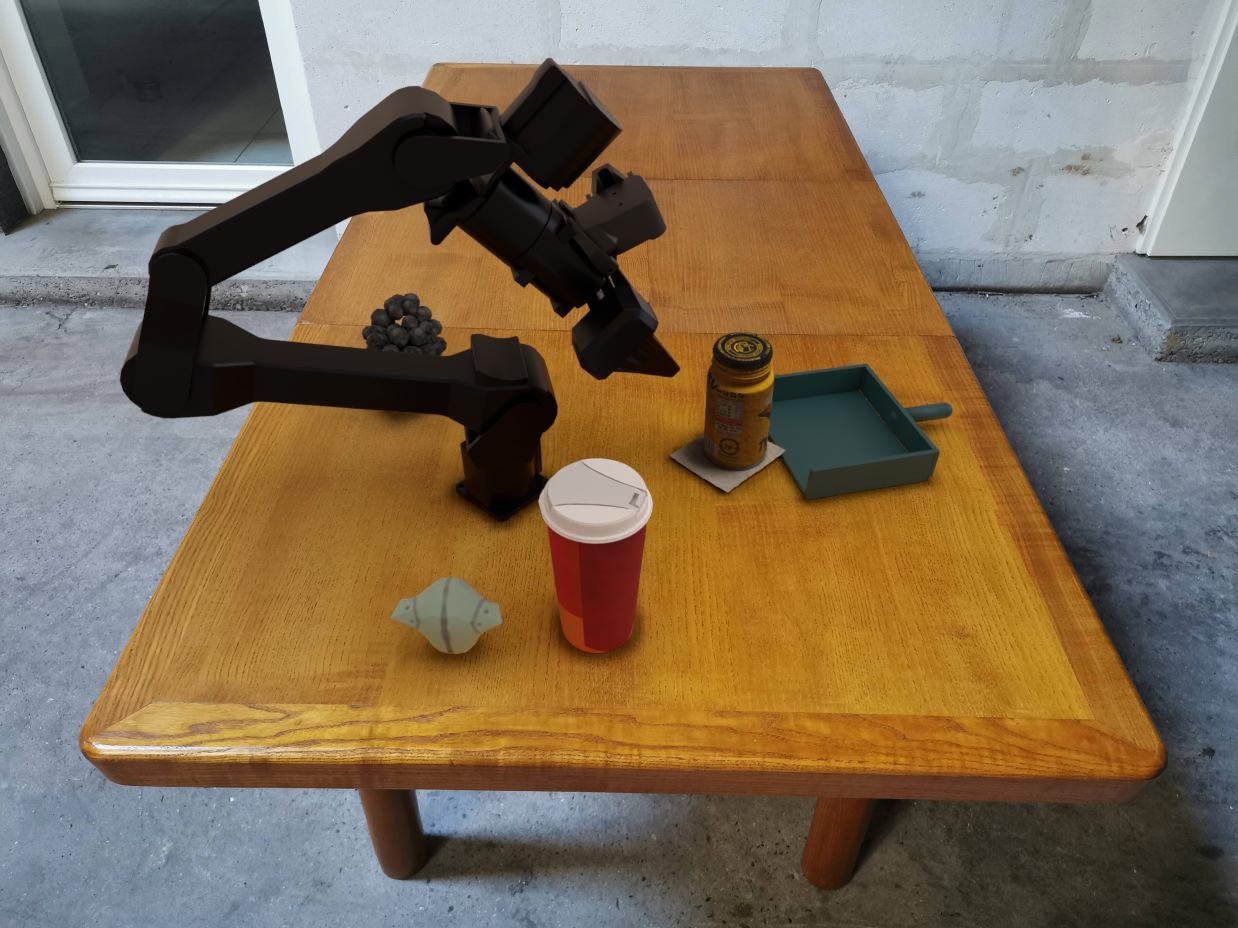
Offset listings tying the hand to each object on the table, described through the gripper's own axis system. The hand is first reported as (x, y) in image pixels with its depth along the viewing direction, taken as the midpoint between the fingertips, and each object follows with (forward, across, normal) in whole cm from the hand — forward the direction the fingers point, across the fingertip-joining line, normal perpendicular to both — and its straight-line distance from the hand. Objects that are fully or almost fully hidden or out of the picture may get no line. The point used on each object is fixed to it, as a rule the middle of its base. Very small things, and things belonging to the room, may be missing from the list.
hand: (660, 343), depth 74 cm
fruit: (-6, +19, +26) cm, 32 cm away
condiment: (+15, 0, +4) cm, 16 cm away
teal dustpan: (+25, 0, -6) cm, 25 cm away
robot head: (-4, -17, +24) cm, 30 cm away
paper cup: (+3, -17, +16) cm, 24 cm away
